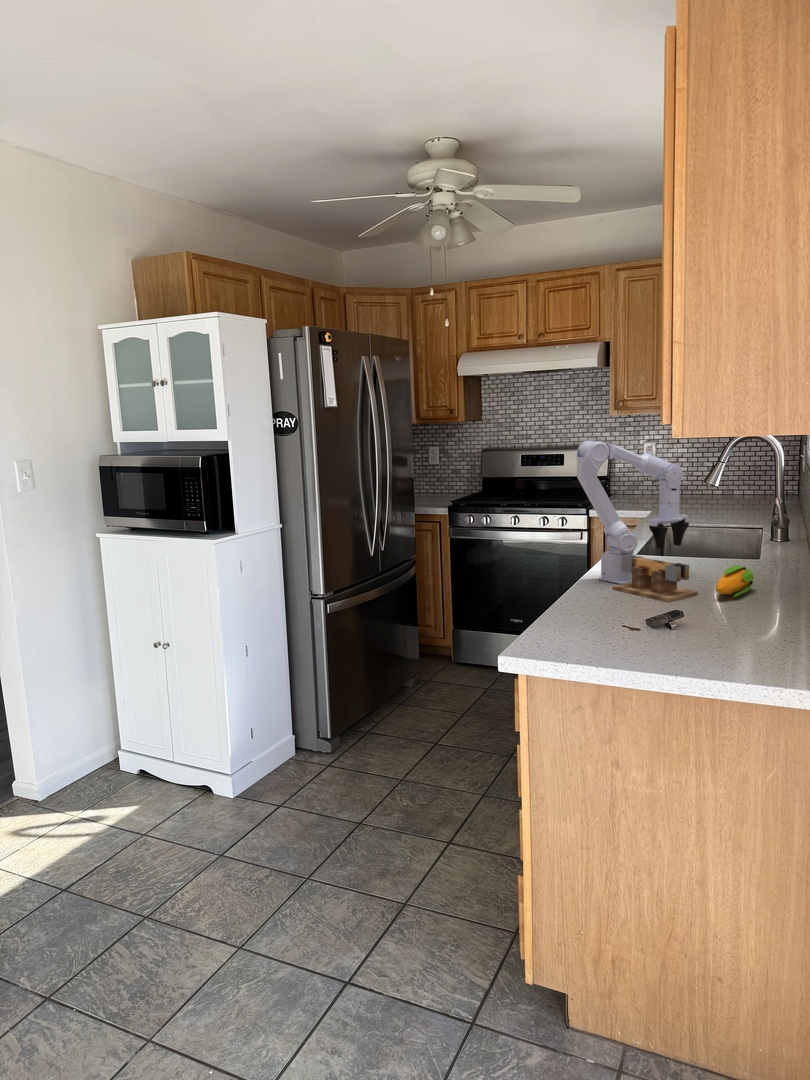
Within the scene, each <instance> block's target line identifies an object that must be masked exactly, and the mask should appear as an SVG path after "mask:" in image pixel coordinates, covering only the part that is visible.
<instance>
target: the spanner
mask: <svg viewBox="0 0 810 1080" xmlns="http://www.w3.org/2000/svg"><path fill="white" fill-rule="evenodd" d="M632 567H640V568H643V574H644V575H649V576H651V571H653V570H656V571H661V572H663V578H665V580H669V581H674V582H677V583H679V582H681V580H684V581H686V580H689V579H690V565H689V564H686V563H681V562H675V563H674V562H671V561H669V562H668V561H664V560H659V559H651V558H646V557H644V556H639V555H635V554H634V555H632V556H630V557H622V558H621V571H624V572H629V573H632Z"/></svg>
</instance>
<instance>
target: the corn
mask: <svg viewBox="0 0 810 1080" xmlns="http://www.w3.org/2000/svg"><path fill="white" fill-rule="evenodd" d="M754 580H755V576H754V573H753V571H752V570H751V569H750V568H748V569H747V567H746V566H742V565H733V566H731V567H728V568H726V569H725V570H724V571H723V574H722V576H721V577H720V578H719V580H718V581H717V584H716V587H715V591H716V592H718V593H719V594H720V595H722V596H728V595H733V594H734V595H733V596H732V598H733V599H735V598H738V597H739V596H741V595H744V594H745V593H747V592H749V591H750V590H751V589H752V586H753V584H754V582H753V581H754Z"/></svg>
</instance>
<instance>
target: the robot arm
mask: <svg viewBox="0 0 810 1080" xmlns="http://www.w3.org/2000/svg"><path fill="white" fill-rule="evenodd" d="M575 458H576V477H577V479H578V480H577V481H578V482H579V484H580V485H581V488H583V489H582V490H583V491H584V493H585V494H586V496H587V498H588V500H589V502H590V504H591V505H592V507H593V509H594V510H595V513H596V514H597V515H598V518H599V519H600V522H601V523H602V525H603V532H604V534H605V542H606V545H607V546H608V547H609V549H608V550H606V551H604V552H603V553H602V555H601V559H600V570H601V571H600V572H601V573H600V577H599V578H598V579H599V580H600V581H604V582H610V583H615V584H617V585H620V584H624V583H629V582H632V573H629V572H624V571H621V558H622V557H630V556H632V555H635V554H634V553H635V550H636V548H637V546H638V543H639V542H638V541H639V540H638V538H637V535H636V534H634V533H633V532H631V531H630V529H629V527H628V526H627V525H626V524H625V523H624V522H623V521H622V520H621V518H620V516H619V514H618V513H617V511H616V509H615V507H614V505H613V503H612V501H611V500H610V498H609V496H608V494H607V492H606V490H605V489H604V487H603V485H602V483H601V482H600V479H599V478H598V473H599V471H600V469H601V467H602V466H603V465H604V463H605V462H606V461H607V460H612V459H616V460H619V461H622V462H625V463H628V464H631V465H633V466H635V467H636V469H637V471H638V472H640V473H642V474H645V475H647V476H651V477H653V478H655V479H658V481H659V505H658V506H659V511H658V513H659V516H657V517H655V518H651V519H650V520H649V522H650V523H649V525H648V526H649V527H648V529H649V530H650V532H651V534H652V536H653V538H654V541H655V546H656V548H657V549H660V550H664V549H665V546H666V535H667V532H668V529H669V527H668V526H664V525H669V524H670V526H671V527H670V528H671V531H672V542H673V546H678V547H681V546H682V544H683V543H682V542H683V539H684V536H685V534H686V532H687V531H686V530H687V529H688V527H689V526H690V522H688V520H689V516H688V515H689V514H680V494H681V493H680V490H681V487H680V486H681V481H682V480H683V478H684V476H685V472H683V468H682V466H681V465H680V464H678V463H673V462H669V459H668V458H661V457H657V456H656V455H655V453H652V452H649V453H643V454H641V455H639V454H638V453H635V452H633V451H630V450H628V449H626V448H623V447H621V446H618V445H616V444H613V443H608V442H604V441H601V440H598V441H596V440H595V441H594V440H589V439H587V440H584V441H582V442H581V443H580V444H579V445H578V448H577V450H576V452H575Z"/></svg>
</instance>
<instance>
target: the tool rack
mask: <svg viewBox="0 0 810 1080" xmlns="http://www.w3.org/2000/svg"><path fill="white" fill-rule="evenodd" d="M613 590H614V591H618V592H621V593H622V592H623V593H626V594H631V595H635V596H640V597H644V598H649V599H653V600H657V601H661V602H665V603H671V602H675V601H679V600H683V599H688V598H692V597H695V596H698V595H699V591H698V590H697V591H696V590H694V589H693V590H692V589H687V588H683V587H678V582H674V581H669V580H665V578H663V572H661V571H656V570H653V571H651V576H649V575H644V574H643V568H640V567H632V582H629V583H624V584H615V585H613V586H612V591H613Z"/></svg>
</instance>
